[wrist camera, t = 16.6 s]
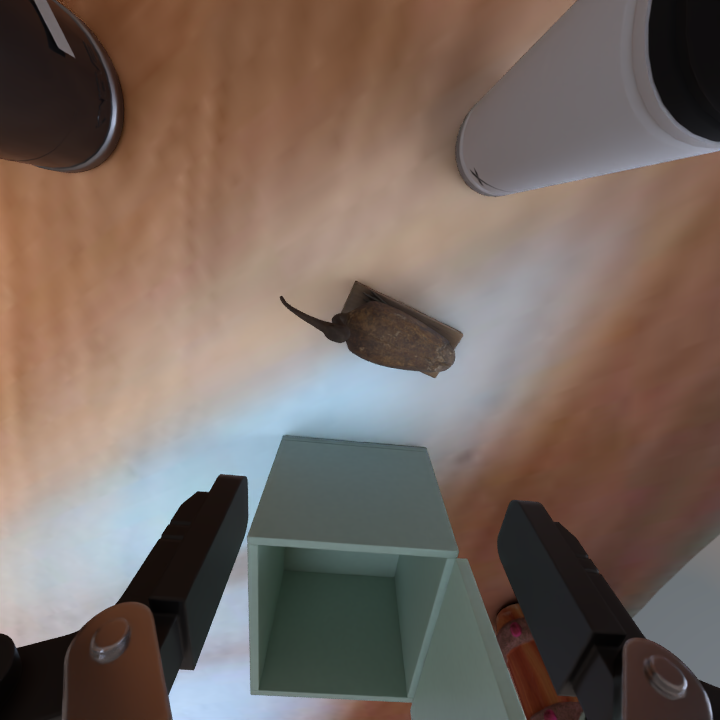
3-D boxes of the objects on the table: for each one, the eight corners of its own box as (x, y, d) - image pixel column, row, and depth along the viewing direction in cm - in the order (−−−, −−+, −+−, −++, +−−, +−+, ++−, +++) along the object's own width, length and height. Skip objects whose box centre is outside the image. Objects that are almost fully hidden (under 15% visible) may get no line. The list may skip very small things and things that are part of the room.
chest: (279, 567, 38) (250, 695, 28) (282, 435, 32) (247, 536, 21) (398, 576, 39) (413, 703, 29) (426, 447, 32) (459, 551, 22)
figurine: (285, 308, 27) (255, 342, 19) (306, 256, 26) (283, 269, 18) (434, 375, 30) (463, 431, 22) (461, 331, 28) (503, 373, 20)
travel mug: (459, 211, 25) (770, 165, 6) (449, 105, 22) (906, -493, 4) (546, 190, 24) (1161, 76, 6) (544, 80, 22) (1595, -734, 3)
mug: (529, 643, 44) (609, 838, 30) (473, 631, 43) (529, 826, 29) (592, 569, 39) (724, 761, 25) (530, 553, 38) (632, 744, 24)
